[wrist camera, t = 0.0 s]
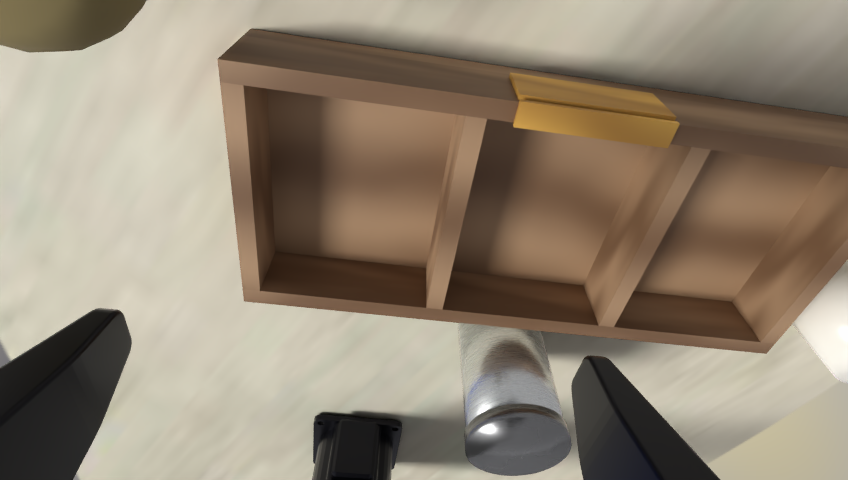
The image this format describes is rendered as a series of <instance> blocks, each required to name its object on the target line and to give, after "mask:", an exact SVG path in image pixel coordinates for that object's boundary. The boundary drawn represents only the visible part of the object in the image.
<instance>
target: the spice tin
mask: <svg viewBox="0 0 848 480" xmlns="http://www.w3.org/2000/svg"><path fill="white" fill-rule="evenodd" d="M458 332H459V345H460V358H461V372H462V385H463V399H464V412H465V426H466V430H465V433H464V439H465V453H466V456H467V458H468V460H469V461H470V462H471V463H472V464H473V465H474V466H476V467H477V468H479V469H481V470H483V471H486V472H489V473H493V474H498V475H507V476H518V475H527V474H533V473H537V472H541V471H544V470H546V469H549V468H551V467H553V466H555V465H557V464H558V463H560V462H561V461H562V460H563V459H564V458H565V457H566V456H567V455H568V454H569V452H570V450H571V438H570V435H569V431H568V427H567V423H566V421H565V420H564V418H563V415H562V411H561V407H560V404H559V400H558V396H557V392H556V388H555V384H554V380H553V376H552V372H551V368H550V364H549V360H548V356H547V352H546V348H545V344H544V340H543V336H542V333H541V331H536V330H526V329H516V328H506V327H496V326H486V325H476V324H466V323H459V326H458Z"/></svg>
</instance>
